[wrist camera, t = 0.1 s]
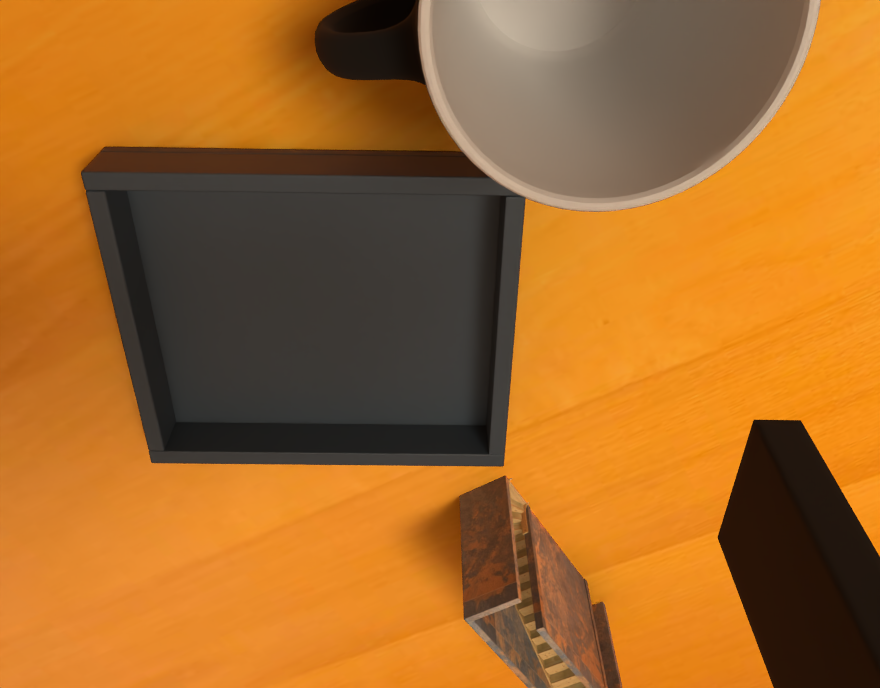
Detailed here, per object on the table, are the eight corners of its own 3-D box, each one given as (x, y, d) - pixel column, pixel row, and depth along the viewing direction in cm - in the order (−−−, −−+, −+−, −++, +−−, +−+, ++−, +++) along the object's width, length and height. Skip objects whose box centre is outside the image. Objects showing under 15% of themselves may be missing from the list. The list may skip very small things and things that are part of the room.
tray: (104, 146, 30) (79, 172, 28) (520, 152, 30) (527, 178, 28) (167, 426, 37) (151, 463, 35) (500, 430, 37) (503, 466, 35)
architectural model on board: (610, 595, 45) (649, 769, 37) (561, 613, 46) (588, 788, 37) (512, 465, 39) (533, 637, 31) (459, 489, 40) (465, 662, 32)
